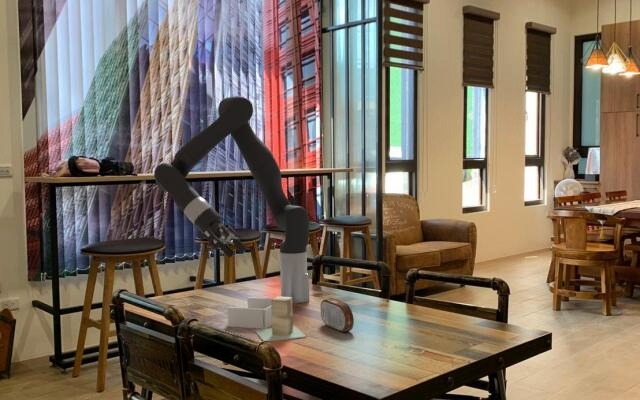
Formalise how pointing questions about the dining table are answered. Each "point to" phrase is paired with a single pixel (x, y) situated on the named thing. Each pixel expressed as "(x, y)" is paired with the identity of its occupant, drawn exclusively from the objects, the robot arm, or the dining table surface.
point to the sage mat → (267, 335)
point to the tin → (337, 315)
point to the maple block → (282, 316)
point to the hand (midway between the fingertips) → (238, 253)
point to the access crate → (252, 314)
